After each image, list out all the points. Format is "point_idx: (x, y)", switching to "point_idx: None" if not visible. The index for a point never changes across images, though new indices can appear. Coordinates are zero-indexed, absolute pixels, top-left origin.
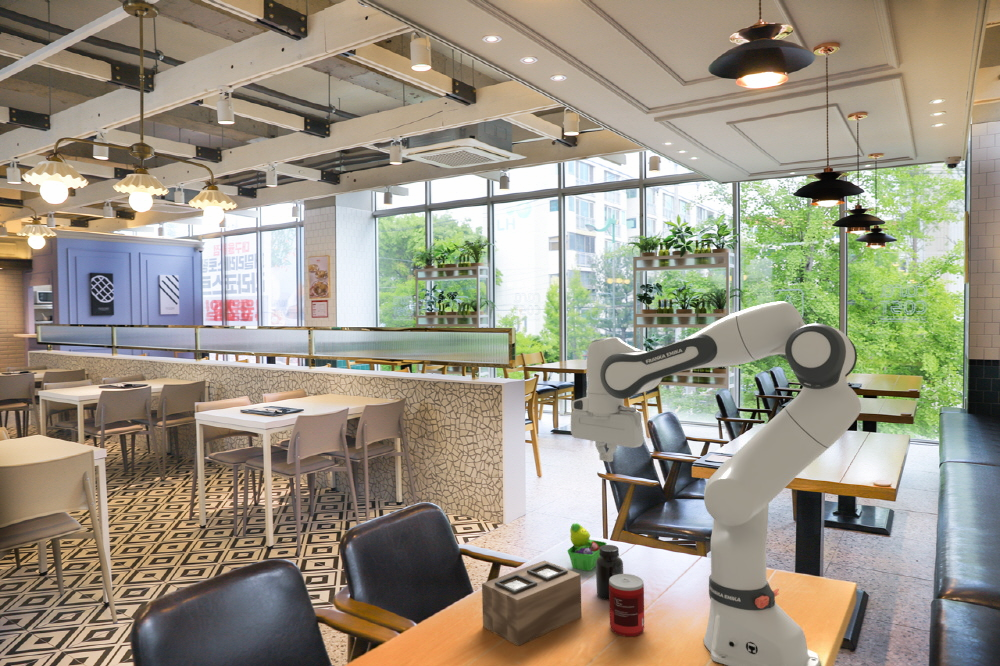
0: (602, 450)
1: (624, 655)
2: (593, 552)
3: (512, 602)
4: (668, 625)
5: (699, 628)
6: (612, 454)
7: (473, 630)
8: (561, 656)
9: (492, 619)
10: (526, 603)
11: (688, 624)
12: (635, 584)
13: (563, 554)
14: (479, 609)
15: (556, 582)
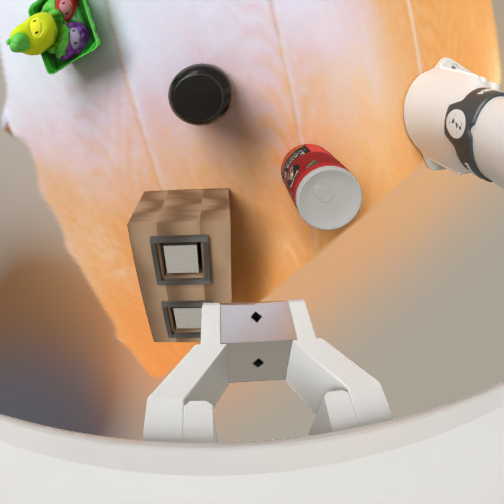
0: (217, 386)
1: (342, 227)
2: (78, 18)
3: None
4: (349, 116)
5: (387, 96)
6: (313, 342)
7: None
8: (284, 278)
9: None
10: None
11: (370, 94)
12: (348, 195)
13: None
14: (115, 276)
15: (225, 274)
